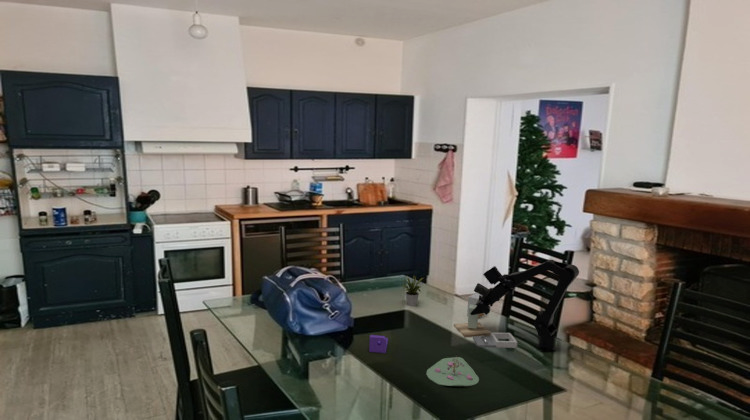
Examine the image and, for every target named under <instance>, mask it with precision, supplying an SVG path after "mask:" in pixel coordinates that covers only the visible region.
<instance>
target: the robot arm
mask: <svg viewBox="0 0 750 420" xmlns="http://www.w3.org/2000/svg"><path fill="white" fill-rule="evenodd" d="M546 272H551V273H553V274H554V275H556V276H557V277H558V283H557V286H556V287H555V289H554V292H553V293H552V295H551V297H550V299H549V301H548V303H547V305H546V306H545V309H542V310H540V311H539V312H538V313H537V314H536V317H535V319H533V322H534V324H533V327H534V329H535V330H536V333H537V335H538V343H535V347H537V348H538V349H539V350H540V351H542V352H554V351H557V349H556V348H555V347H554V345H555V344H554V343H555V334H556V332H557V330H558V328H557V327H556V326H555V324H554V323H553V322H554V319H555V313H556V311H557V309H558V307H559V306H560V304H561V301H562V299H563V298H564V296H565V294H566V292H567V291H568V288H569V287H570V286H571V284H572V283H573V282H574V281H575V280H576V279H577V277H578V276H579V275H580V270H579V268H578V267H577V266H576V265H574V264H567V263H565V262H561V261H557V260H555V259H547V261H545V262H542V263H540V264H538V265H535V266H533V267H531V268H527V269H526V270H522V271H521V270H520V271H515V272H512V273H510V274H509V273H508V274H507V273H505V274H501V272H500V271H499V270H498V268H497V266H496V265H493V266H492V267H491V268H489V269H488V270H486V271H485V272H484V273H483V277H484V278H485V279H486V280H487V281H488V283H489V284H490V285H494V286H493V287H490V288H487V287H486V286H484V285H483V284H481V283H479V282H478V283H477V284H475V287H474V289H473V292H474V293H478V294H480V295H479V301H478V302H477V303H476V304H475V305H477V306H476V307H475V309H474V310H473V311H472V312H471V313H470V314H471V315H476V314H481V313H484V314H485V315H486V316H487V315H489V314H490V312H491V308H492V307H493V306H494V304H496V303H497V302H500V300H501V299H502V298H503V297H505V296H506V295H507V294H508V293H509V294H510V296H513V295H514V294H515V293H514V292H515V288H516V287H517V286H519V285H520V284H522V283H524V282H525V281H527V280H529V279H531V278H534V277H536V276H538V275H541V274H543V273H546ZM481 295H482V296H481Z"/></svg>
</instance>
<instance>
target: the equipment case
mask: <svg viewBox="0 0 750 420" xmlns="http://www.w3.org/2000/svg"><path fill="white" fill-rule="evenodd" d="M472 339H473V341H474V343H475V344H476V347H477V348H500V349H501V348H505V349H506V348H509V349H515V348H518V341H517V340H516V338H515V337H514V336H513V334H512V333H511V332H490V336H484V335H481V336H473V337H472ZM503 340H504V341H503ZM505 340H506V341H505Z"/></svg>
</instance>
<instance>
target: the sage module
mask: <svg viewBox="0 0 750 420" xmlns="http://www.w3.org/2000/svg"><path fill="white" fill-rule="evenodd" d="M476 306H477V305H471V304H470V306H469V313H468V316H467V323H468V328H475V329H477V325H478V323H479V318H478V314H476V315H471V314H470V313H471V312H472V311H473V310H474V309H475V307H476Z"/></svg>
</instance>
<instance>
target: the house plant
mask: <svg viewBox="0 0 750 420" xmlns="http://www.w3.org/2000/svg"><path fill="white" fill-rule="evenodd" d="M405 277H406V278H405V279H404V280H402V281H401V282H404V284H403V285H402V287H403V288H404V289H405V300H406V306H409V307H415V306H417V305H418V299H419V294H420V293H419V292H421V291H422V290H421V289H420V288H422V286H420V285H419V283H421V282H422V280H424V277H421V278H420V279H419V280H418V281H417V280H416V279H417V276H413V277H412V281H411V280H410V277H409V276H408V275H405ZM416 281H417V282H416ZM418 291H419V292H418Z"/></svg>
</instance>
